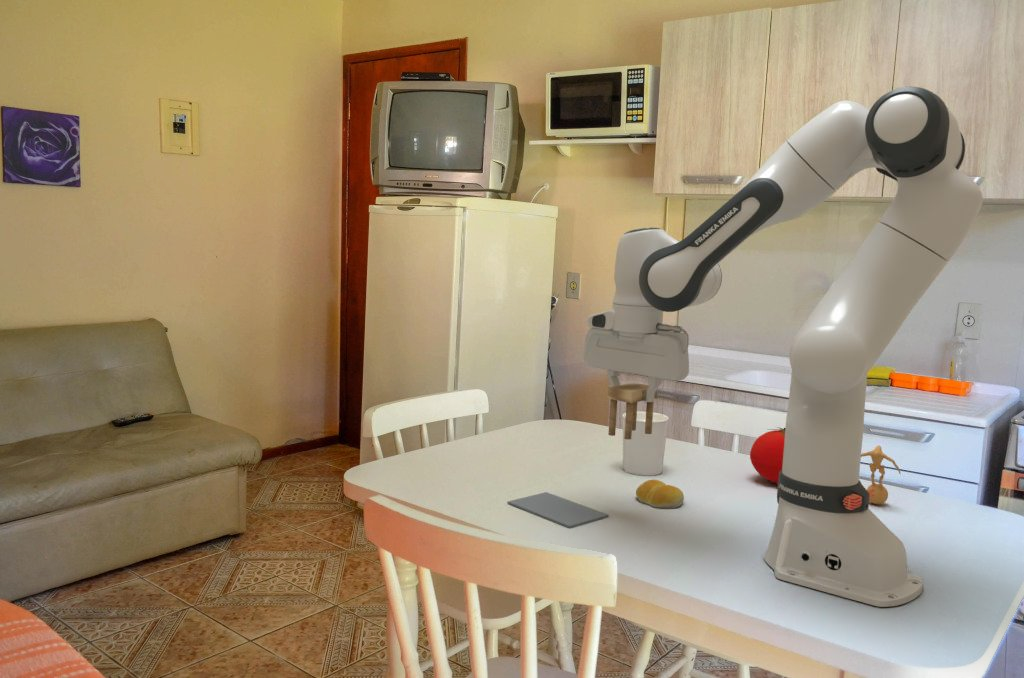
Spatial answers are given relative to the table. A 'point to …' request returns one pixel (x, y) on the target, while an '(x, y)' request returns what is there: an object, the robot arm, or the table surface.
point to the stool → (629, 407)
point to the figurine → (880, 490)
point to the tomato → (769, 454)
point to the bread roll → (659, 494)
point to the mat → (558, 509)
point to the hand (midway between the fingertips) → (632, 398)
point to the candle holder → (645, 446)
